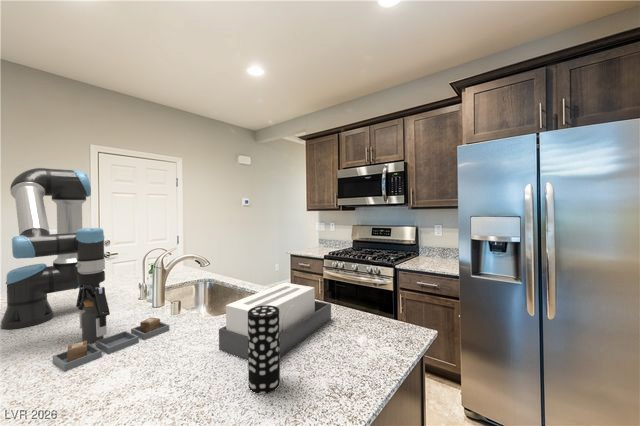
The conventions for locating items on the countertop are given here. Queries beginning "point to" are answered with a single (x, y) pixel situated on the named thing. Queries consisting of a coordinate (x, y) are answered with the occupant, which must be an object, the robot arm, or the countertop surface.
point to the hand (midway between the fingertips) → (92, 331)
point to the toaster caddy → (288, 338)
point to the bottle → (89, 323)
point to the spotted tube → (263, 349)
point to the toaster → (286, 296)
